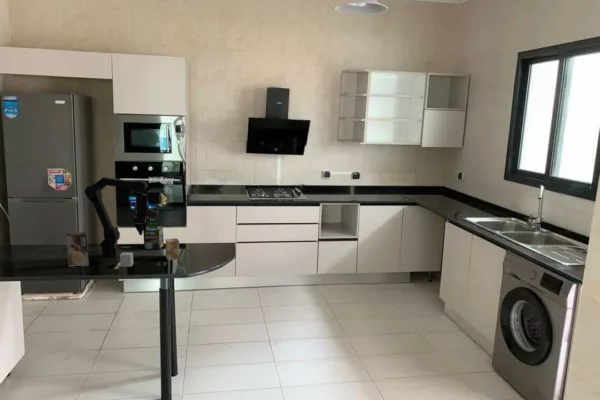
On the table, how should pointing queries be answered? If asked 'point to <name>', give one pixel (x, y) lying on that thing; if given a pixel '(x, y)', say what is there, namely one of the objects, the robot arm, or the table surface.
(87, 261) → the coffee box
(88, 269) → the table surface
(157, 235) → the chalk box
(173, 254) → the oak block
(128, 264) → the grey block
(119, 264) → the plain tile
